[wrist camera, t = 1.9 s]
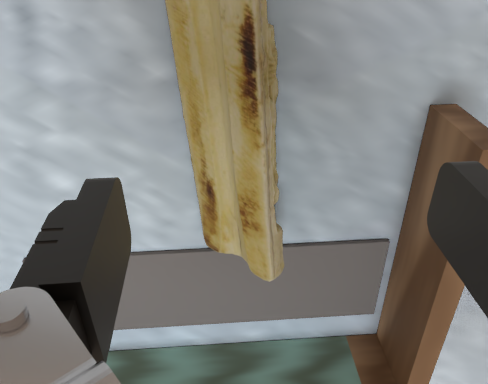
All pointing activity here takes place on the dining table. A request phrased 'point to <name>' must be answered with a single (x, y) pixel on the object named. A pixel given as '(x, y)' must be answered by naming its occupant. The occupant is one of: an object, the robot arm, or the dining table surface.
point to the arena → (393, 313)
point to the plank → (231, 124)
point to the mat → (250, 285)
